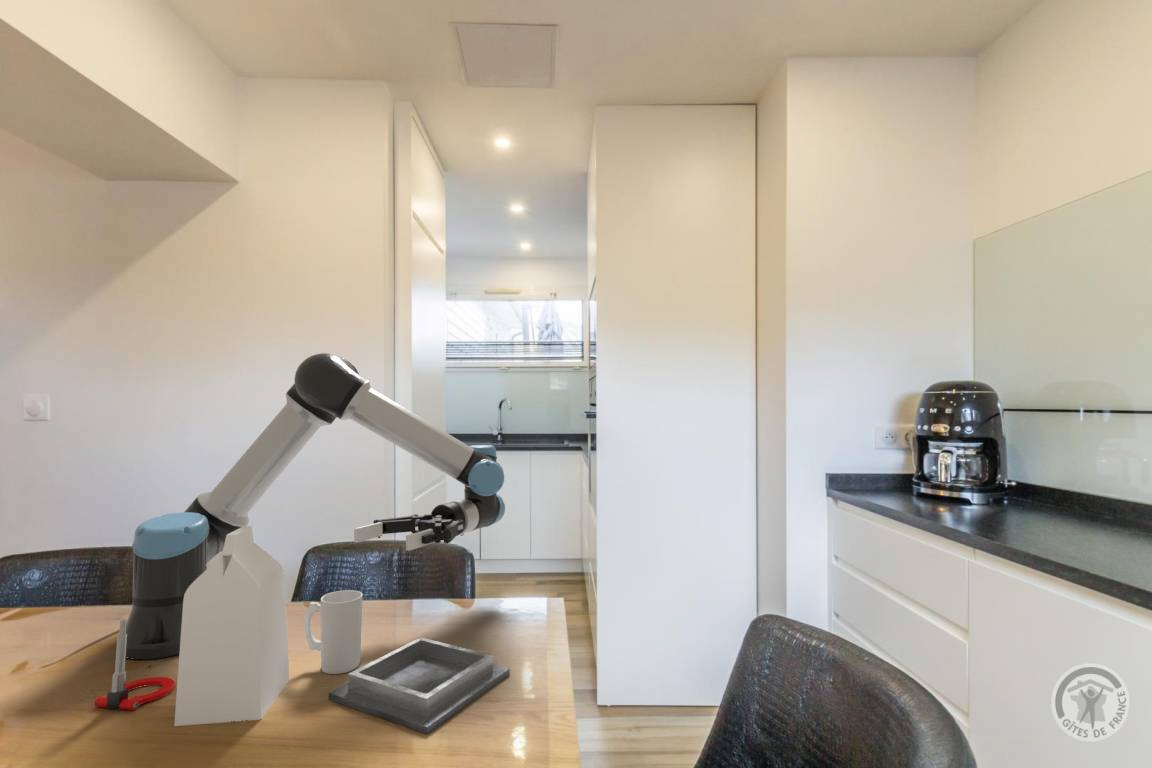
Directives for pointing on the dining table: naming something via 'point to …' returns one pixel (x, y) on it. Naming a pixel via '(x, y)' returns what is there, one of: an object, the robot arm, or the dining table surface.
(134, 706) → the tow hook
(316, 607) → the mug
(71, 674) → the dining table surface
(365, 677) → the grey shallow square tray
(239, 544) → the milk
